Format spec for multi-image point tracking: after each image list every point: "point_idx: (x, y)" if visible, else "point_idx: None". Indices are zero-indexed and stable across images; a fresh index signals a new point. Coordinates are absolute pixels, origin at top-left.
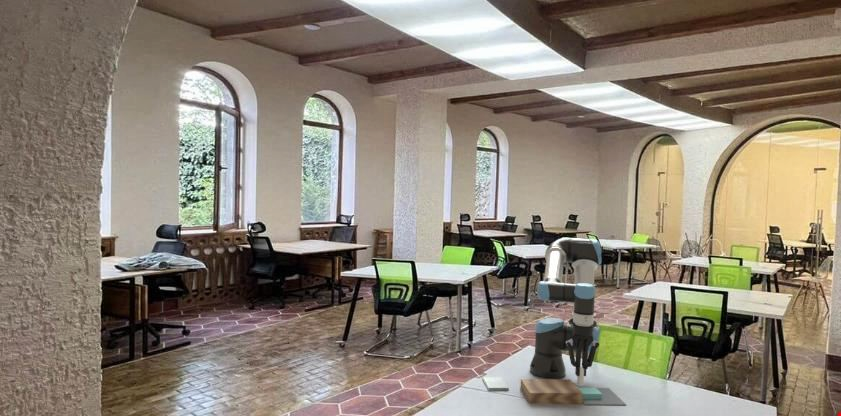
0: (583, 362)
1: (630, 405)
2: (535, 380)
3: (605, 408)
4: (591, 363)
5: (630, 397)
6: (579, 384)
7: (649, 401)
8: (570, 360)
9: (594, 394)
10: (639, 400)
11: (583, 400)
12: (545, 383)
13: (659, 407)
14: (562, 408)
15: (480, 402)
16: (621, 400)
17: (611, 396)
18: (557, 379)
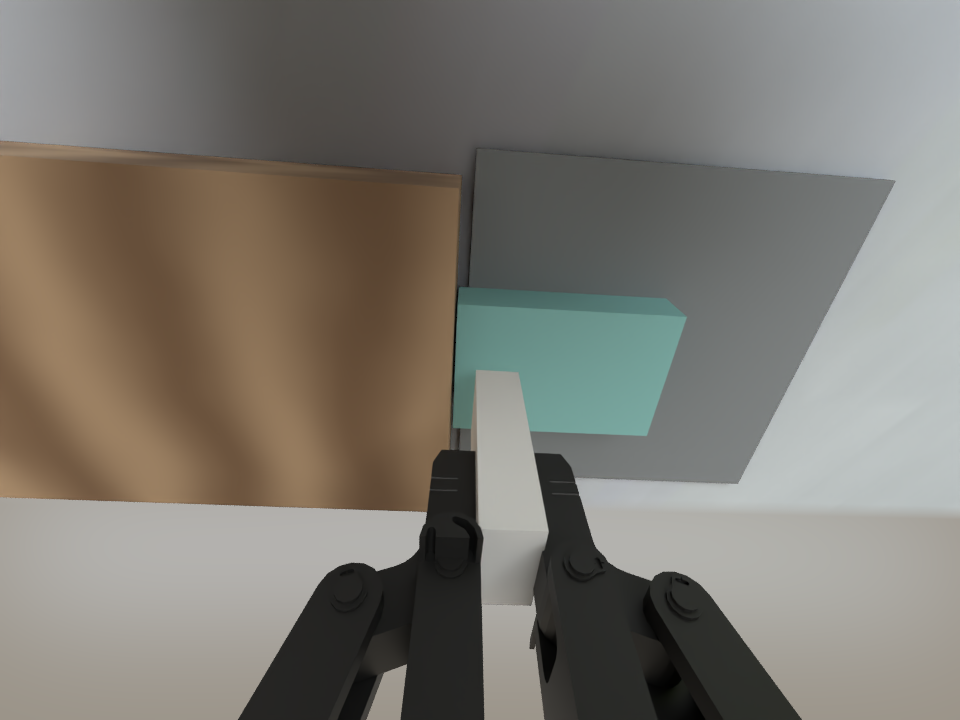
0: (549, 695)
1: (763, 477)
2: None
3: None
4: (684, 710)
5: (892, 369)
6: (471, 431)
7: (955, 431)
8: (276, 669)
9: (582, 429)
10: (903, 416)
11: None
12: (117, 309)
13: (917, 502)
14: None
15: None
16: (759, 433)
17: (744, 371)
18: (283, 179)
